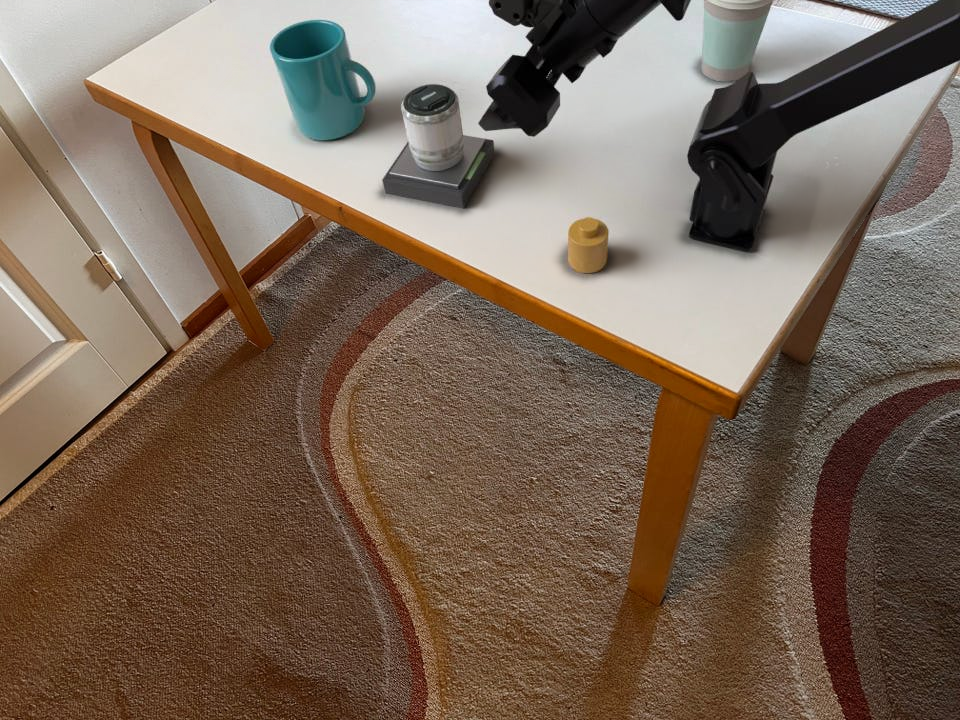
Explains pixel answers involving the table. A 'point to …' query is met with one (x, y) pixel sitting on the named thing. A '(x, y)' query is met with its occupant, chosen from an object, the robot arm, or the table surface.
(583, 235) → the brass weight
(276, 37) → the cup
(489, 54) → the table surface
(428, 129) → the camera lens
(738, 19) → the coffee cup
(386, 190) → the scale
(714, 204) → the robot arm
